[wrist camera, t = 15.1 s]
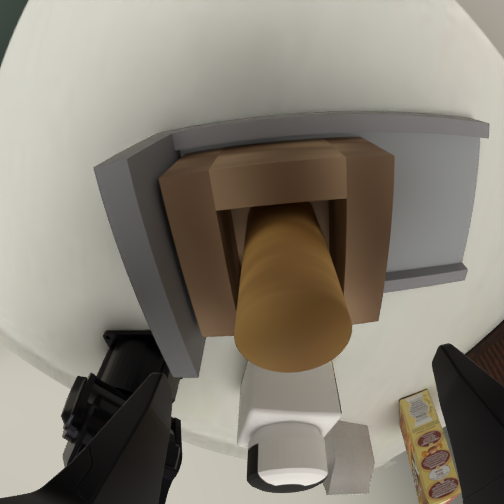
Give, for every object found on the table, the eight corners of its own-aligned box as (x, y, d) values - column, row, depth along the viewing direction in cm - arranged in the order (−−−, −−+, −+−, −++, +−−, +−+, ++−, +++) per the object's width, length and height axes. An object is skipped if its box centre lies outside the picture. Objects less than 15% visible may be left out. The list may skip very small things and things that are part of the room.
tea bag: (330, 418, 33) (339, 490, 24) (367, 425, 34) (379, 488, 26) (312, 430, 34) (317, 498, 26) (349, 436, 36) (358, 497, 27)
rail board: (195, 293, 23) (173, 377, 16) (157, 133, 17) (93, 167, 10) (453, 266, 21) (502, 331, 14) (472, 118, 15) (553, 148, 8)
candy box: (397, 399, 31) (425, 509, 18) (429, 387, 30) (463, 493, 17) (398, 425, 35) (419, 515, 22) (425, 415, 34) (449, 503, 21)
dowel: (251, 254, 19) (243, 375, 11) (242, 193, 17) (224, 296, 9) (316, 249, 19) (346, 366, 11) (314, 186, 17) (357, 284, 9)
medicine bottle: (307, 392, 29) (316, 496, 19) (240, 386, 29) (232, 495, 19) (331, 349, 26) (352, 472, 15) (252, 340, 25) (247, 473, 15)
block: (213, 285, 21) (202, 336, 17) (185, 153, 17) (158, 178, 12) (357, 271, 20) (378, 320, 16) (360, 136, 16) (394, 156, 11)
